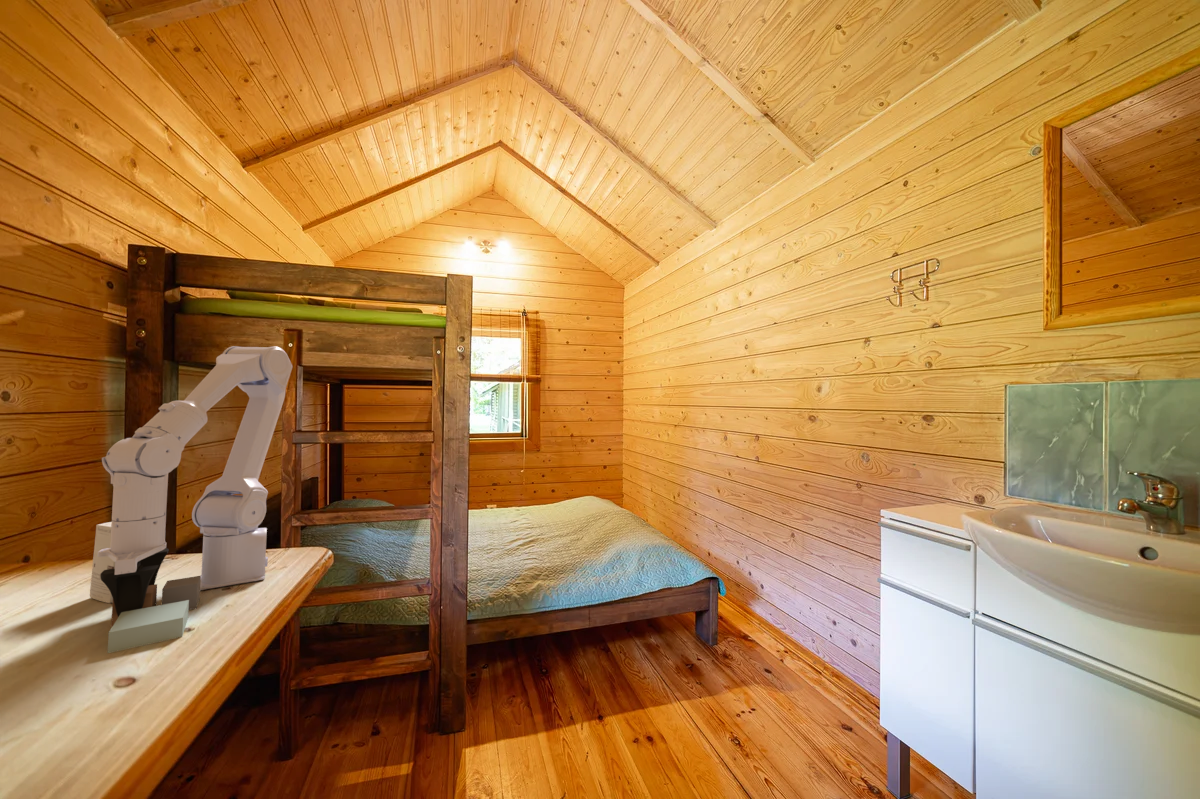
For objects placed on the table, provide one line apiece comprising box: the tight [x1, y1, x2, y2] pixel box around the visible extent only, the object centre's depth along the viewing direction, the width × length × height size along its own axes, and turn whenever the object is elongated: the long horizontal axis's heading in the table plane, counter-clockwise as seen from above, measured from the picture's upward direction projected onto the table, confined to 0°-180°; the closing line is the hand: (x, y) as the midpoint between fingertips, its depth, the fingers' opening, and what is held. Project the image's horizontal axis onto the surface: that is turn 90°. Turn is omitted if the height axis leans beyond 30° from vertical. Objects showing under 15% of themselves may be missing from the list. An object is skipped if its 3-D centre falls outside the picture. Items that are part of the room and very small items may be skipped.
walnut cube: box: [110, 583, 158, 628], centre depth 66 cm, size 4×4×4 cm
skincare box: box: [89, 521, 115, 604], centre depth 73 cm, size 6×4×12 cm
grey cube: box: [161, 575, 201, 610], centre depth 70 cm, size 4×4×4 cm
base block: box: [107, 600, 189, 654], centre depth 61 cm, size 7×7×3 cm
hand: (135, 607), depth 66 cm, fingers open, 6 cm apart
